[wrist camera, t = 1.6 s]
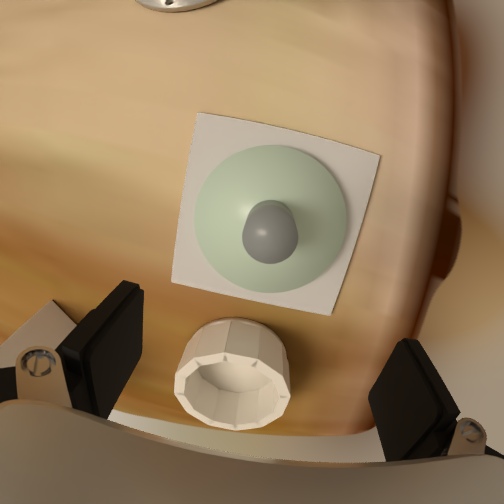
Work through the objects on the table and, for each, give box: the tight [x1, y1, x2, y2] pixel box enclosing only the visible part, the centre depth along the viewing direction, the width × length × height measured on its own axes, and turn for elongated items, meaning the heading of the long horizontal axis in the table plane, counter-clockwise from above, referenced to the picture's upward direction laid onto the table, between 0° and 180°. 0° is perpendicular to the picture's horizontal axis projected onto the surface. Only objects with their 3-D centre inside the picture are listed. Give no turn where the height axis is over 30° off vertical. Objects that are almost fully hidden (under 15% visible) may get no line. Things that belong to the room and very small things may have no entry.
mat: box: [171, 112, 380, 316], centre depth 27 cm, size 16×16×1 cm
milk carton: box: [0, 300, 77, 368], centre depth 25 cm, size 7×7×19 cm
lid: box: [194, 145, 347, 293], centre depth 24 cm, size 13×13×5 cm
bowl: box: [174, 317, 291, 430], centre depth 30 cm, size 11×11×6 cm
